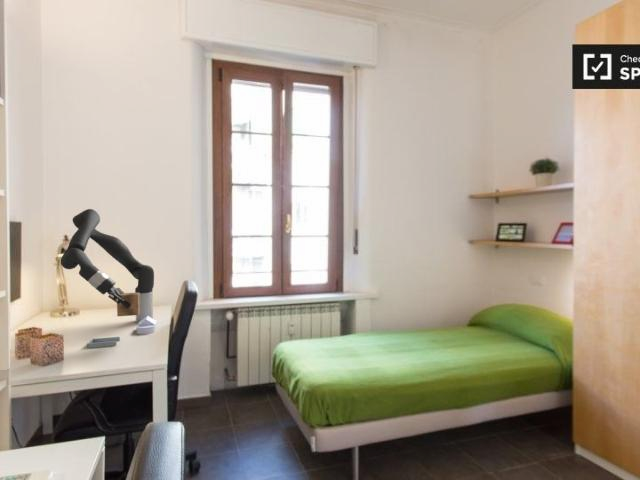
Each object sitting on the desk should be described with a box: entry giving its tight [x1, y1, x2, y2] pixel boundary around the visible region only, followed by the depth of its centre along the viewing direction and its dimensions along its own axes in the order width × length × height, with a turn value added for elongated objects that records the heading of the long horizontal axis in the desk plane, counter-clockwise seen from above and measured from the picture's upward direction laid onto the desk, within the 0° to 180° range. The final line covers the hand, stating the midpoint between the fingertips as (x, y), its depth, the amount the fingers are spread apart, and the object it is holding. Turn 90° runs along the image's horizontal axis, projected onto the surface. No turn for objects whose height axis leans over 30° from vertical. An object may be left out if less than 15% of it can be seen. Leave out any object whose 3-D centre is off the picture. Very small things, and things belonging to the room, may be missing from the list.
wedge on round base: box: [136, 316, 157, 335], centre depth 201 cm, size 9×7×13 cm
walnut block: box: [116, 292, 140, 317], centre depth 181 cm, size 9×5×10 cm, turn 107°
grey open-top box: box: [86, 336, 121, 349], centre depth 178 cm, size 12×8×2 cm, turn 107°
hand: (130, 305), depth 181 cm, fingers closed on walnut block, 5 cm apart
